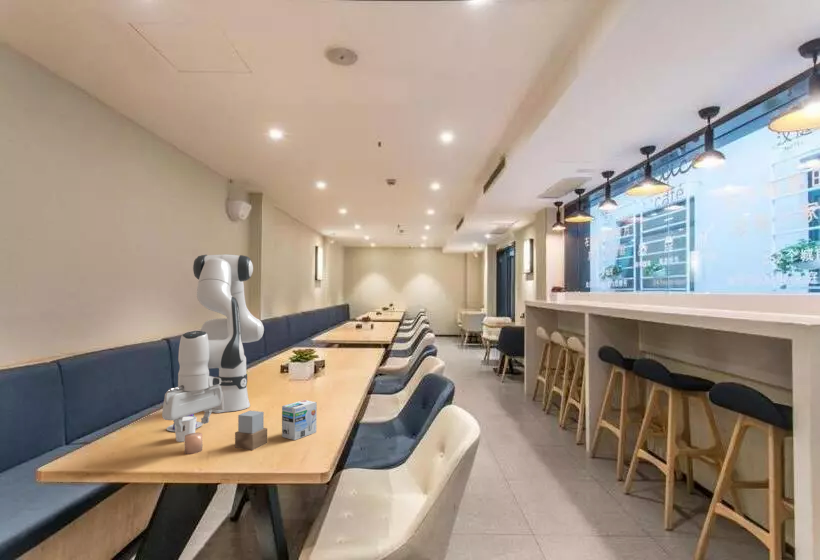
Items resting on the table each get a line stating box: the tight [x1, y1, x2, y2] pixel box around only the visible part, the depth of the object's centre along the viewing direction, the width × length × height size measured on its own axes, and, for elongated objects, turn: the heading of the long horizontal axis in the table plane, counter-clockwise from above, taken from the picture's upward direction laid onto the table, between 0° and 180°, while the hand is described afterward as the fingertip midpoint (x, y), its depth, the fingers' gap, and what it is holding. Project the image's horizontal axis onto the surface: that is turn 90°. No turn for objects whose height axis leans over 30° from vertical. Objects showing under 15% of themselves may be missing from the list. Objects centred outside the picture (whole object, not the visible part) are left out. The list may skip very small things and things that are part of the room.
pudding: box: [166, 413, 204, 432], centre depth 161 cm, size 12×12×5 cm
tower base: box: [234, 427, 268, 451], centre depth 141 cm, size 7×7×5 cm
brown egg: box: [184, 432, 203, 455], centre depth 136 cm, size 5×5×5 cm
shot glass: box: [173, 415, 198, 443], centre depth 148 cm, size 7×7×7 cm
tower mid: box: [237, 410, 265, 434], centre depth 141 cm, size 6×6×6 cm
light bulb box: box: [281, 399, 318, 441], centre depth 151 cm, size 11×7×11 cm, turn 148°
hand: (193, 427), depth 136 cm, fingers open, 8 cm apart
